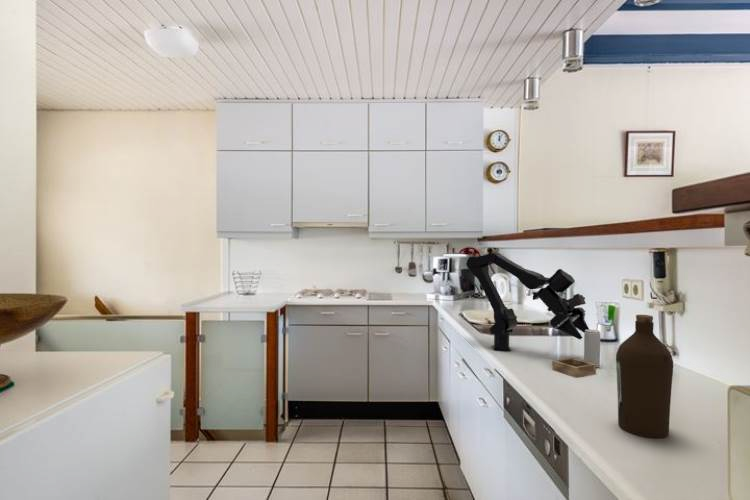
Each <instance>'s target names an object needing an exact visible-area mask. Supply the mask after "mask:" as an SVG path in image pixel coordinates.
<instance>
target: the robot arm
mask: <svg viewBox="0 0 750 500" xmlns="http://www.w3.org/2000/svg"><path fill="white" fill-rule="evenodd" d="M493 264H494V265H496V266H497V267H499V268H501V269H503V270H504V271H506V272H508V273H509V274H511V275H512V276H513V277H516V278H517V279H518V280H519V282H520V283H521V285H523V286H524V287H525V288H527V289H529V290H537V291H533V292H532V300H533V301H536V300H538V299H540V300H541V302H543V304H544V305H545V306H546V307H547V311H548V312H551V313H552V314H553V315H554V316H553V317H552V318H551V319H550V320H549V324H550V326H551V327H552V329H556V330H557V331H558V330H559V331H560V332H561V331H562V332H563V333H566V334H567V335H570V336H572V337H573V338H576V339H578V340H581V339H583V336H582V335H581V333H584V332H585V330H587V329H590V328H589V326H588V324H587V322H586V320H585V318H586V317H585V316H586V312H587V311H586V310H585V309H584V308H583V307H580V306H582V305H585V304H587V303H586V297H584V295H583V294H580V293H577V294H574V295H573V296H572V297H571V298H568V299H567V298H565V297H561V296H560V294H558V293H561V294H562V293H565V292H566V290H569V288H570V287H572V286H573V284H575V283H576V280H575V279H574V278H573V276H572V275H571V274H569V273H568V272H566V271H564V270H563V269H561V268H558V269H557V270H556V271H555V272H554V273H553V275H552V276H550V277H545V276H544V275H543V274H542V273H539V272H537V271H534V270H531V269H528V268H524V267H523V266H521V265H519V264H517V262H516V263H515V262H514V261H513V260H510V259H509V258H507V257H506V256H504V255H502V254H501V253H500V252H497V251H496V252H489V253H487V254H483V255H478V256H475V255H473V256H469V257H468V258H467V260H466V264H465V265H466V267H467V269H468V270H469V272H470V273H471V274H472V275H473V276H474V277H475V278H476V279H477V280H478V282H479V284H480V286H481V289H482V290H483V292H484V294H485V296H486V298H487V300H488V302H489V304H490V306H491V308H492V311H493V319H494V324H493V325H492V326H491V327H489V331H490V334H491V335H493V344H492V345H491V347H492V349H493V351H504V352H505V351H506V352H508V351H509V352H512V348H511V347H510V334H511V333H513V331H514V329H515V328H516V327H517V325H518V320H517V319H518V316H517V315H516V314H515V311H514V309H513V308H508V307H507V306H506V305H505V303H504V301H503V299H502V297H501V296H500V293H499V292H498V289H497V286H496V285H495V283H494V282H493V280H492V278H491V275H490V273H489V271H490V269H489V268H490V267H489V266H490V265H493ZM546 285H547V286H546ZM538 289H539V290H538ZM580 332H581V333H580Z"/></svg>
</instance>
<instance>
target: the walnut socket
mask: <svg viewBox="0 0 750 500" xmlns="http://www.w3.org/2000/svg"><path fill="white" fill-rule="evenodd" d="M551 368H552V369H551V370H553V371H556V372H557V373H558V372H559V373H561V374H565V375H567V376H570V377H574V378H580V377H585V376H586V377H587V376H591V375H596V374H597V368H596V365H595V364H592V363H588V362H585V361H584V360H580V359H578V358H573V357H569V358H568V357H567V358H562V359H561V358H560V359H555V360H552V367H551Z"/></svg>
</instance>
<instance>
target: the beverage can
mask: <svg viewBox="0 0 750 500" xmlns="http://www.w3.org/2000/svg"><path fill="white" fill-rule="evenodd" d="M583 334H584V336H583V337H584V339H583V346H584V347H583V348H584V349H583V361H585V362H588V363H592V364H595V365H596V369H598V368H599V367H600V366H601V331H600V330H598V329H590V328H589V329H587V330H585V332H583Z"/></svg>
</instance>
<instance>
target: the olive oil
mask: <svg viewBox="0 0 750 500" xmlns="http://www.w3.org/2000/svg"><path fill="white" fill-rule="evenodd" d="M635 319H636V320H635V321H634V322H635V326H634V329H635V331H634V332H633V333H632V334H631V335H630V336H628V338H626V339H625V340H624V341H622V343H621V344H620V345H619V347H618V349H617V351H616V354H615V367H616V389H617V392H616V393H617V394H616V395H617V421H618V426H619V428H621V429H622V430H623V431H625V432H628V433H630V434H633V435H636V436H638V437H639V436H640V437H644V438H648V439H649V438H650V439H663V438H666V437H668V436H669V435H670V421H671V420H670V415H671V402H672V401H671V400H672V387H673V386H672V385H673V375H674V360H673V359H674V358H673V356H672V354H671V351H670V350H669V348H668V347H667V346H666V345H665V344H664V343H663V342H662V341H661V340H660V339H659V338H658V337H657V336H656V335H655V333H654V322H653V321H654V316H652V315H650V314H636V315H635Z"/></svg>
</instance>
